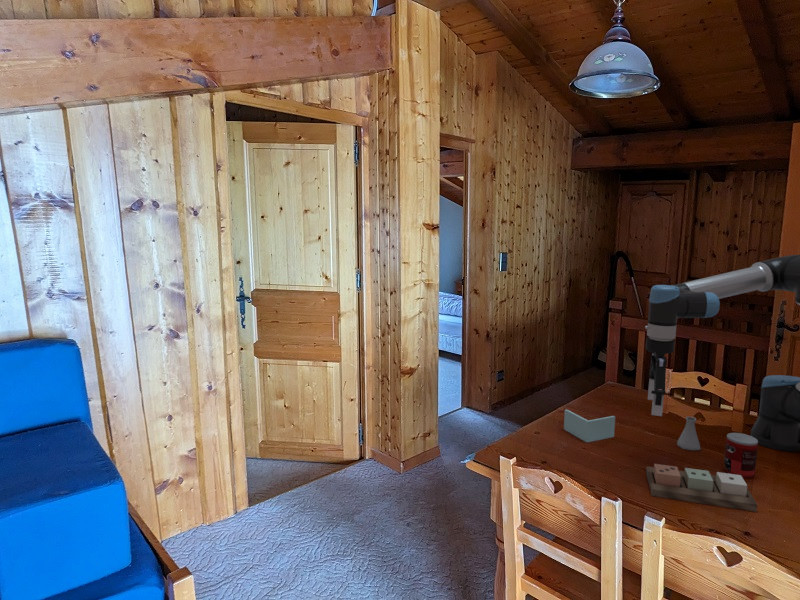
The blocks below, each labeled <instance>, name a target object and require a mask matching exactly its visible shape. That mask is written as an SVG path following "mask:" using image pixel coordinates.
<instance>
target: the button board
mask: <svg viewBox="0 0 800 600" xmlns="http://www.w3.org/2000/svg"><path fill="white" fill-rule="evenodd" d="M678 471H679V473H680V476H681V479H680V487H675V486H668V485H662V484H656V483H655V478H654V466H647V465H646V467H645V474H646V478H647V482H648V486H649V487H648V488H649V491H650V495H651V497H658V498H663V499H670V500H671V499H672V500H675V501H676V500H677V501H683V502H690V503H697V504H703V505H710V506H716V507H723V508H730V509H735V510H741V511H742V510H743V511H750V512H755V513H757V512H758V511H757V510H758V503H757V502H756V500H755V498H754V497H753V495H752V493H751V491H750V490H749V488H748V487H747V494H746V497H744V496H738V495H731V494H724V493H720V491H719V489H718V487H717V484H716V475H715V474H713V475H712V474H710V475H711V477H712V479H713V491H712V492H710V491H703V490H696V489H689V488H688V487H687V485H686V482H685V479H684V472H685V470H678Z"/></svg>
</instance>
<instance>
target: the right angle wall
mask: <svg viewBox="0 0 800 600" xmlns="http://www.w3.org/2000/svg"><path fill="white" fill-rule="evenodd" d="M615 426H616V416H615V415H610V416H606V417H605V416H604V417H600V418H594V419H590V420H589V419H586V417H585V418H584V417H582V416H581V415H579V414H577V413H575V412H573V411H571V410H569V409H564V421H563V430H564V431H566V432H568V433H569V434H571V435H573V436H574V437H576V438H578V439H579V440H582V441H583V442H585V443H591V442H592V443H593V442H596V441H601V440H605V439H611V438H614V437H615V429H616V428H615Z"/></svg>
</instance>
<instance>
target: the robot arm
mask: <svg viewBox="0 0 800 600" xmlns="http://www.w3.org/2000/svg"><path fill="white" fill-rule="evenodd" d="M755 291H758V292H763V293H764V292H768V291H769V292H770V291H785V292H792V293H795V303H796V304H797V305H799V306H800V254H791V255H784V256H783V255H782V256H779V257H775V258H771V259H766V260H762V261H758V262H754V263H753V264H752V265H751V266H750V267H746V268H745V267H744V268H742V269H737V270H733V271H729V272H724V273H719V274H716V275H710V276H707V277H704V278H699V279H698V278H697V279H694V280H690V281H686V282H682V283H676V284H672V285H671V284H670V285H668V284H656V285H653V286H652V287H651V289H650V292H649V298H648V302H649V303H648V316H647V325H645V326H644V329H645V330H646V336H647V337H646V339H645V340H646V341H645V349H646V351H648V352H650V353H651V356H650V366H649V371H648V375H649V381H648V390H647V391H648V392H647V400H648V401H652V403H651V404H652V405H651V414H650V415H651V416H658V417H663V411H664V400H665V399H664V398H665V397H664V396H665V395H666V394H667V393H666V380H667V379H666V378H667V376H666V375H667V373H666V372H667V365H668V364H667V363H668V359H667V356H665V355H667V354H673V353H674V352H675V344H676V341H675V339H676V336H677V335H676V334H677V326H678V325H677V323H678V319H692V318H693V319H707V318H713V317H715V316H716V315H717V314H718V313H719V311H720V305H721V302H720V300H721V299H725V298H728V297H732V296H738V295H742V294H745V293H746V294H747V293H751V292H755ZM750 436H752V437H754V438H756V439H757V440H758V445H761V446H762V447H766V448H769V449H773V450H777V451H783V452H784V451H785V452H799V451H800V377H799V376H794V375H793V376H792V375H783V374H780V375H779V374H776V375H775V374H772V375H767V376H765V377H763V378H762V384H761V386H760V400H759V413H758V417H757V419H756V420H755V422H754V424H753V426H752V427H751V430H750Z"/></svg>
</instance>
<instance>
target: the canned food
mask: <svg viewBox="0 0 800 600" xmlns="http://www.w3.org/2000/svg"><path fill="white" fill-rule="evenodd" d="M758 448H759V444H758V440H757V439H756V438H754V437H752V436H751V435H748V434H746V433H741V432H740V433H739V432H730V433H727V435H726V438H725V450H724V459H723V469H724V471H725V473H726V472H727V473H728V474H735V475H741V476H742V478H743V479H751V478H753V477H754V476H755V474H756V467H757V465H756V464H757V457H758V450H759V449H758Z"/></svg>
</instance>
